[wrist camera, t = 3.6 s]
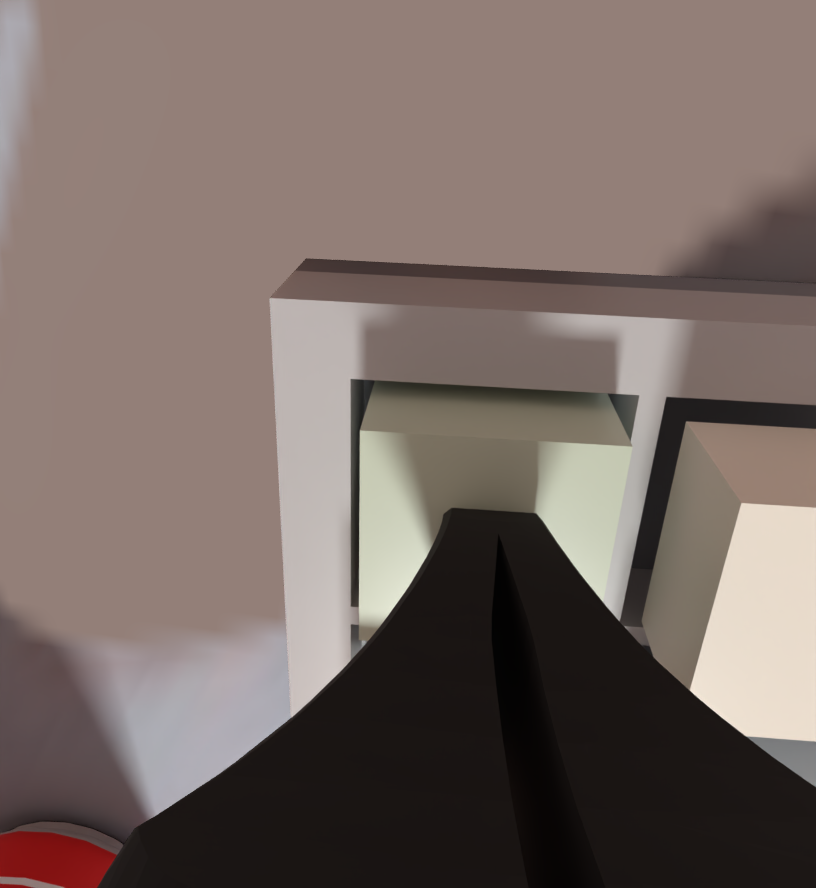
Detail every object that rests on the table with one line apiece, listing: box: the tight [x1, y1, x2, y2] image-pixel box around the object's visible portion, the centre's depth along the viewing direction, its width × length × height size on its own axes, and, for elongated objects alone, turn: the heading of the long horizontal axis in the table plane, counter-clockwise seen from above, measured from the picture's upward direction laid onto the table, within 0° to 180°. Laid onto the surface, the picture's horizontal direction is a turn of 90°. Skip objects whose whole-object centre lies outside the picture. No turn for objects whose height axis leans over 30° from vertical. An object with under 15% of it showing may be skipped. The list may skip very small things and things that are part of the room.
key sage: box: [359, 380, 633, 641], centre depth 12 cm, size 4×4×2 cm
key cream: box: [642, 421, 816, 742], centre depth 11 cm, size 4×4×2 cm
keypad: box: [270, 259, 816, 718], centre depth 14 cm, size 12×12×3 cm
